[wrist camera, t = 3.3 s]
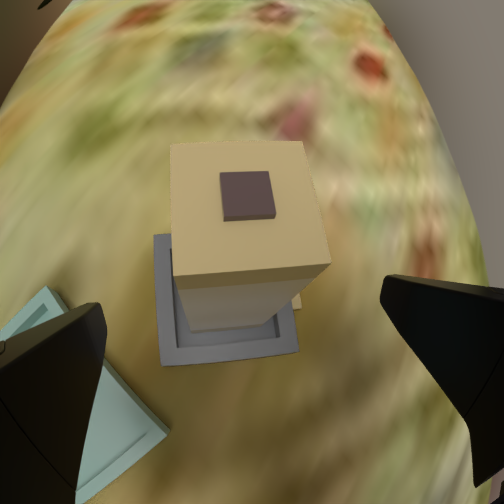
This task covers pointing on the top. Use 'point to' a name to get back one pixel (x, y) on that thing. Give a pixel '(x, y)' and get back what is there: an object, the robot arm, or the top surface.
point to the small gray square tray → (212, 343)
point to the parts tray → (99, 410)
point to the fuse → (242, 230)
